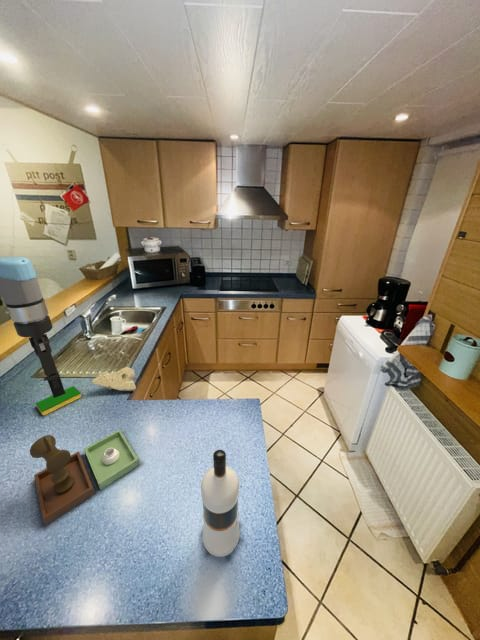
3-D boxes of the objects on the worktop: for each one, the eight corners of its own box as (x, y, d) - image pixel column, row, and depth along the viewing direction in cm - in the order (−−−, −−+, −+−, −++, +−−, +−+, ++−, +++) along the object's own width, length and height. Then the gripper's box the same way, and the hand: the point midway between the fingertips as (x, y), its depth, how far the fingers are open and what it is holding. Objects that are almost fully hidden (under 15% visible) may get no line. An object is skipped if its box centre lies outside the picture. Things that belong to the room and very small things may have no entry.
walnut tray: (36, 480, 74) (33, 474, 73) (80, 456, 82) (78, 451, 81) (45, 525, 64) (42, 519, 63) (95, 493, 71) (93, 487, 70)
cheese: (144, 384, 118) (123, 360, 119) (144, 381, 112) (122, 356, 113) (115, 408, 110) (92, 383, 111) (113, 407, 104) (90, 380, 104)
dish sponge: (81, 397, 107) (80, 392, 106) (43, 416, 97) (41, 411, 96) (74, 389, 111) (73, 385, 110) (37, 407, 101) (35, 402, 100)
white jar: (121, 450, 84) (104, 452, 82) (119, 443, 82) (102, 446, 81) (118, 463, 79) (100, 466, 78) (116, 457, 78) (98, 460, 77)
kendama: (66, 468, 77) (47, 421, 69) (84, 485, 73) (65, 436, 64) (45, 485, 73) (21, 436, 64) (62, 504, 68) (39, 454, 60)
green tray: (85, 454, 83) (83, 448, 82) (121, 434, 90) (120, 429, 89) (100, 490, 72) (98, 484, 71) (139, 464, 80) (138, 459, 79)
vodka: (208, 566, 57) (203, 484, 45) (198, 523, 65) (191, 442, 53) (245, 548, 61) (249, 466, 48) (231, 509, 69) (232, 429, 56)
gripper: (8, 308, 71) (33, 369, 80) (17, 340, 55) (46, 413, 64) (41, 302, 76) (60, 360, 85) (58, 330, 59) (80, 399, 68)
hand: (54, 383), depth 74 cm, fingers open, 13 cm apart
